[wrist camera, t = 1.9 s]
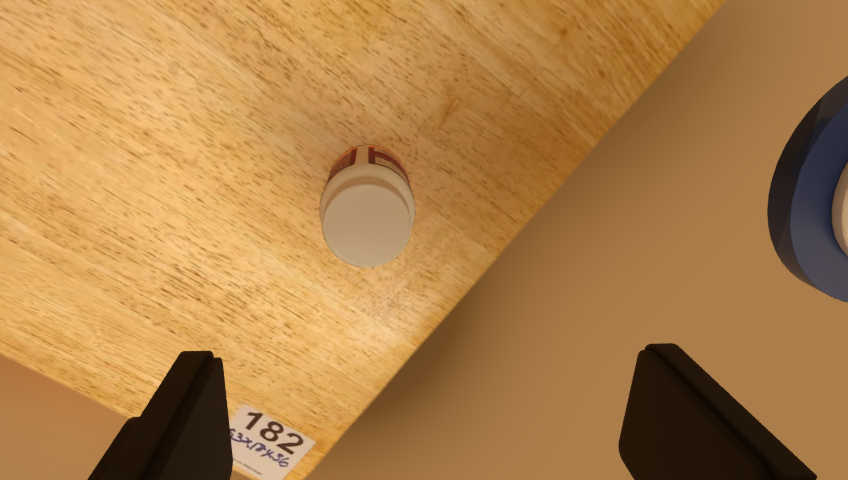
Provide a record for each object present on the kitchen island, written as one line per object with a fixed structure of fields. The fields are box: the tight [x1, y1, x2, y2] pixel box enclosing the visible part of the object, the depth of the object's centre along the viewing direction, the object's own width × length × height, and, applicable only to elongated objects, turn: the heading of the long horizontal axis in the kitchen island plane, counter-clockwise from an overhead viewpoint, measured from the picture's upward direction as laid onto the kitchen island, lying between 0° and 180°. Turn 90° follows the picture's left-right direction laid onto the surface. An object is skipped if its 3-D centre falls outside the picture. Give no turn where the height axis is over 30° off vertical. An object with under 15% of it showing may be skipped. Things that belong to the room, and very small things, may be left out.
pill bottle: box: [319, 145, 416, 268], centre depth 26 cm, size 5×5×8 cm
